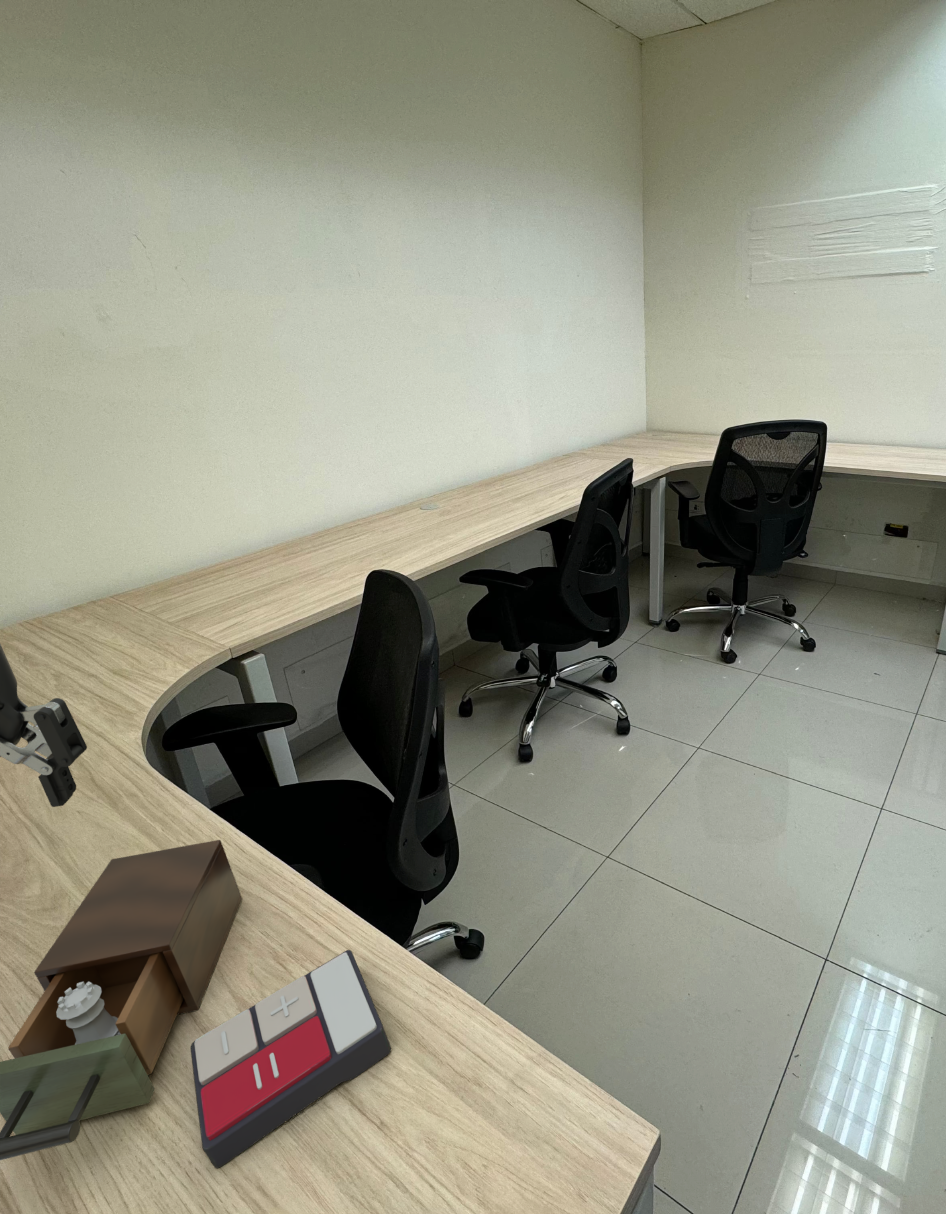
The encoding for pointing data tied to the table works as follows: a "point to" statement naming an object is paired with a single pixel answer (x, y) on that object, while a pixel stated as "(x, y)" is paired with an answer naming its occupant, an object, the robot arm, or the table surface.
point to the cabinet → (154, 917)
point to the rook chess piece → (86, 1013)
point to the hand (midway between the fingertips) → (13, 807)
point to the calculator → (284, 1056)
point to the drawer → (86, 1055)
